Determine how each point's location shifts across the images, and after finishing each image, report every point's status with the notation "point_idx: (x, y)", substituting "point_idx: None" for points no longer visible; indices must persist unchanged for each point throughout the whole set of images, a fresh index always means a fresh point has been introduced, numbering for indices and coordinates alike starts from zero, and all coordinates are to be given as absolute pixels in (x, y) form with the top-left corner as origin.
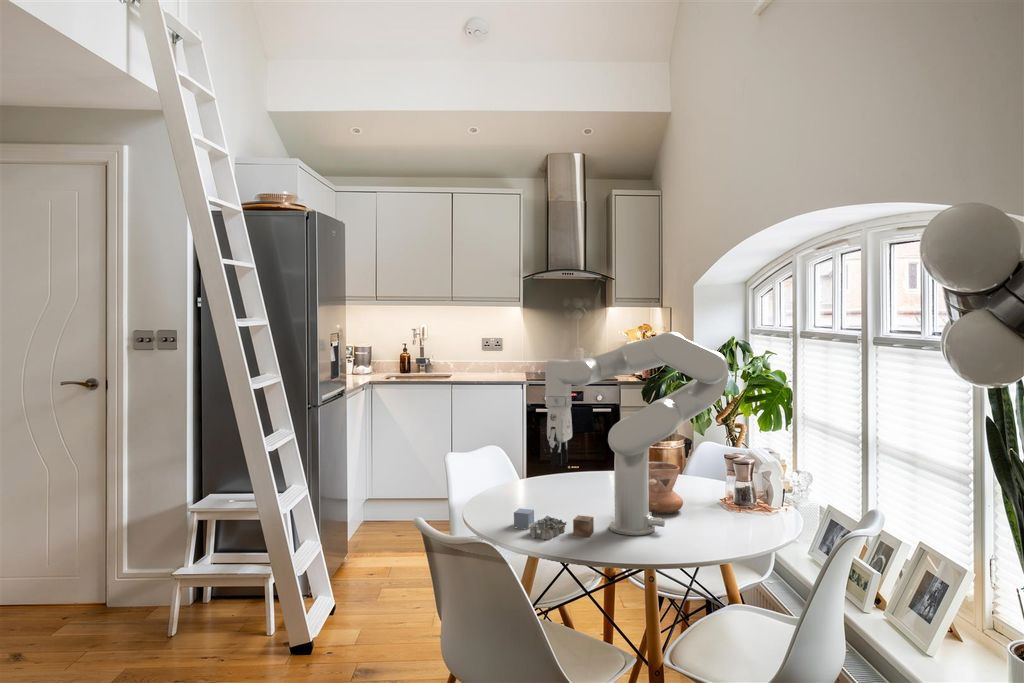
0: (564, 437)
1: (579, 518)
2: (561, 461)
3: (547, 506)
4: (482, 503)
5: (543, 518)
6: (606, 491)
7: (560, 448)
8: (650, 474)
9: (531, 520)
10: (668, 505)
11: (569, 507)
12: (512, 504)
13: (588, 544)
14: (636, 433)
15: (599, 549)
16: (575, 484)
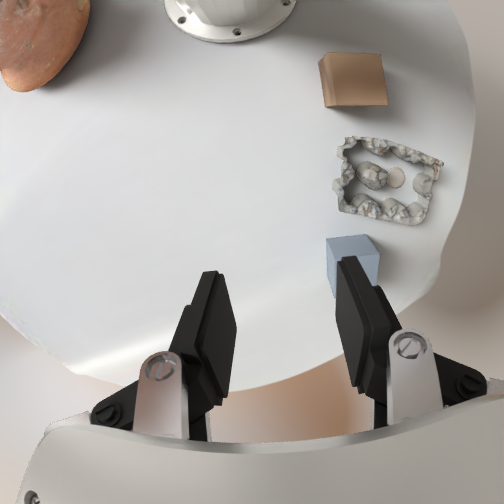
0: (499, 455)
1: (368, 89)
2: (363, 272)
3: (158, 279)
4: None
5: (354, 213)
6: (8, 219)
7: (403, 365)
8: (13, 6)
9: (351, 244)
10: None
11: (131, 229)
12: None
13: (409, 56)
14: None
15: (423, 30)
16: (21, 290)
